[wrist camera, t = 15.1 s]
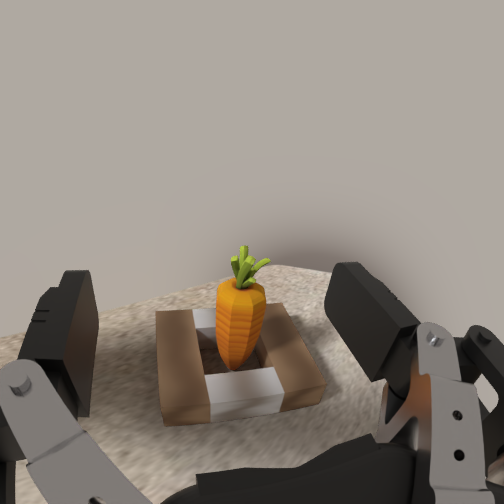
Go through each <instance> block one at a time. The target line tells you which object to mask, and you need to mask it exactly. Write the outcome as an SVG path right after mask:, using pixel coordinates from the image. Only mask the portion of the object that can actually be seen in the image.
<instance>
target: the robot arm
mask: <svg viewBox="0 0 504 504" xmlns="http://www.w3.org/2000/svg"><path fill="white" fill-rule="evenodd" d="M324 308H325V313H326V315H327V317H328V318H329V320H330V321H331V323H332V324H333V326H334V327H335V329H336V330H337V332H338V333H339V335H340V336H341V338H342V339H343V341H344V342H345V344H346V345H347V346H348V348H349V349H350V351H351V352H352V354H353V355H354V357H355V358H356V360H357V361H358V363H359V364H360V366H361V367H362V369H363V370H364V372H365V374H366V375H367V377H368V378H369V380H370V381H371V382H374V381H377V380H381V379H384V378H385V379H386V381H387V382H386V384H385V385H384V387H383V394H382V403H381V411H380V418H379V425H378V431H377V434H376V437H375V439H374V438H373V436H372V434H371V433H370V434H367V435H364V436H362V437H359V438H356V439H353V440H350V441H347V442H344V443H341V444H338V445H335V446H333V447H332V448H330V449H329V450H327V451H325V452H324V453H322V454H320V455H319V456H317V457H315V458H314V459H312V460H310V461H308V462H307V463H305V464H303V465H301V466H299V467H296V468H239V469H233V470H226V471H219V472H211V473H202V474H196V485H193V486H190V487H187V488H185V489H183V490H181V491H179V492H176V493H175V494H173V495H172V496H170V497H168V498H167V499H165V500H164V501H163V502H162V503H160V504H504V345H503V344H502V343H501V342H500V341H499V339H498V338H497V337H496V336H495V335H494V334H493V333H492V332H491V331H489V330H488V329H486V328H485V327H482V326H478V325H474V326H471V327H470V328H469V330H468V332H467V333H466V335H465V337H464V338H459V337H452V335H451V334H450V333H449V332H448V331H447V330H446V329H445V328H443V327H442V326H440V325H438V324H435V323H430V322H425V323H422V324H421V323H420V321H419V320H418V319H417V318H416V317H415V316H414V315H413V314H412V313H411V312H410V311H409V310H408V309H407V308H406V306H405V305H404V304H402V302H401V301H400V300H397V297H396V296H395V295H394V294H393V293H391V292H390V290H389V289H388V288H387V287H386V286H385V285H384V284H383V283H382V282H381V281H379V280H378V279H376V278H374V277H373V276H372V275H371V274H370V273H369V272H368V271H367V270H366V269H365V268H364V267H363V266H362V265H361V264H360V263H358V262H342V263H337V264H336V265H335V267H334V269H333V272H332V276H331V279H330V283H329V286H328V290H327V293H326V296H325V301H324ZM98 330H99V319H98V311H97V306H96V302H95V296H94V291H93V285H92V280H91V275H90V272H89V270H75V271H74V270H72V271H65V272H64V274H63V277H62V279H61V282H60V284H59V287H50V288H49V290H47V291H46V292H45V294H43V295H42V297H40V299H39V302H38V304H37V307H36V309H35V312H34V314H33V316H32V319H31V323H30V324H29V327H28V330H27V332H26V335H25V338H24V341H23V343H22V346H21V349H20V352H19V355H18V358H17V360H15V361H12V362H10V363H8V364H6V365H5V366H4V367H3V368H2V369H1V370H0V504H15V469H16V461H18V460H24V459H27V461H28V464H27V465H26V467H27V470H28V472H29V474H30V476H31V478H32V479H33V481H34V483H35V484H36V486H37V488H38V489H39V491H40V492H41V494H42V495H43V497H44V498H45V500H46V501H47V503H48V504H153V503H152V502H150V501H149V500H148V499H147V498H146V497H145V496H144V495H143V494H142V493H141V492H140V491H139V490H138V489H137V488H136V487H135V486H134V485H133V484H132V483H131V482H130V481H129V480H128V479H127V478H126V477H125V476H124V474H123V473H122V472H121V471H120V470H119V469H118V468H117V467H116V466H115V465H114V463H113V462H112V461H111V460H110V459H109V458H108V457H107V455H106V454H105V453H104V452H103V451H102V450H101V448H100V447H99V446H98V445H97V443H96V442H95V441H94V440H93V439H92V437H91V436H90V435H89V434H88V433H87V432H86V431H84V430H83V429H82V428H81V426H80V425H79V424H78V422H77V417H89V413H90V399H91V387H92V377H93V368H94V359H95V351H96V344H97V337H98ZM481 374H483V375H484V376H485V378H486V379H487V380H488V381H489V383H490V384H491V385H492V386H493V388H494V389H495V391H496V392H497V394H498V398H499V400H498V404H497V406H496V407H495V408H494V410H493V411H492V412H491V413H489V412H488V410H487V409H486V407H485V406H484V405H483V403H482V402H481V401H480V399H479V398H478V394H477V389H476V387H475V385H474V383H475V382H476V380H477V379H478V378H479V376H480V375H481ZM485 476H486V479H485Z"/></svg>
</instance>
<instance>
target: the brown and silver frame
mask: <svg viewBox="0 0 504 504" xmlns="http://www.w3.org/2000/svg"><path fill="white" fill-rule="evenodd" d="M156 346H157V367H158V383H159V397H160V408H161V412H162V417H163V421H164V425H165V426H180V425H193V424H203V423H213V422H221V421H229V420H236V419H243V418H250V417H256V416H262V415H268V414H273V413H279V412H284V411H289V410H294V409H298V408H303V407H307V406H312V405H316V404H319V402H320V399H321V397H322V395H323V392H324V390H325V388H326V385H327V383H326V381H325V380H324V378H323V376H322V374H321V372H320V371H319V369H318V367H317V365H316V363H315V362H314V360H313V358H312V356H311V354H310V352H309V351H308V349H307V347H306V345H305V343H304V342H303V340H302V338H301V336H300V334H299V333H298V331H297V329H296V327H295V325H294V324H293V322H292V320H291V318H290V316H289V315H288V313H287V311H286V309H285V307H284V306H283V304H282V303H273V304H266V309H265V314H264V318H263V323H262V327H261V331H260V334H259V337H258V340H257V342H256V344H255V347H254V350H255V352H256V355H257V357H258V360H259V363H260V365H261V368H262V369H254V370H247V371H238V372H230V373H220V374H210V375H204V370H203V365H202V360H201V355H200V350H201V349H214V348H218V345H217V338H216V308H208V309H191V310H172V311H156Z"/></svg>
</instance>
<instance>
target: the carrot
mask: <svg viewBox="0 0 504 504" xmlns="http://www.w3.org/2000/svg"><path fill="white" fill-rule="evenodd" d="M255 260H256V259H255V258H254V257H252V256H248V246H241V247H240V263H239V259H238V256H233V257H232V258H231V265H232V268H233V271H234V274H235V277H236V278H232V279H230V280H228V281H225V282H223V283H221V284H220V285H219V286H218V289H217V301H216V338H217V345H218V349H219V354H220V356H221V358H222V360H223V362H224V363H225V365H226V366H227V367H228V368H229V369H230V370H236V369H237V368H239V367H240V366H241V365H242V364H243V363H244V362H245V361H246V360H247V359H248V357H249V356H250V355H251V353H252V351H253V349H254V347H255V344H256V342H257V340H258V337H259V334H260V331H261V327H262V323H263V318H264V314H265V309H266V297H265V291H264V288H263V287H262V286H261V285H260V284H258V283H256V279H254V278H252V277H253V276H254V274H255V273H256V272H257V271H258V270H259V269H260V268H261V267H262V266H264V265H266V264H267V263H269V262H270V260H269V259H268V258H265V259H263V260H261V261H259V262H258V263H257V264H256V265H255V266H254V267H253V268H252V266H253V264H254V262H255Z"/></svg>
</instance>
